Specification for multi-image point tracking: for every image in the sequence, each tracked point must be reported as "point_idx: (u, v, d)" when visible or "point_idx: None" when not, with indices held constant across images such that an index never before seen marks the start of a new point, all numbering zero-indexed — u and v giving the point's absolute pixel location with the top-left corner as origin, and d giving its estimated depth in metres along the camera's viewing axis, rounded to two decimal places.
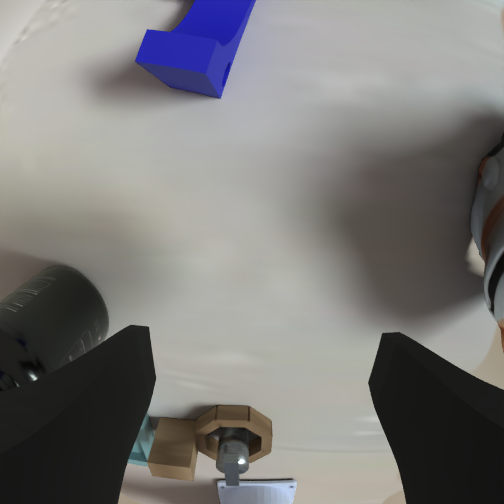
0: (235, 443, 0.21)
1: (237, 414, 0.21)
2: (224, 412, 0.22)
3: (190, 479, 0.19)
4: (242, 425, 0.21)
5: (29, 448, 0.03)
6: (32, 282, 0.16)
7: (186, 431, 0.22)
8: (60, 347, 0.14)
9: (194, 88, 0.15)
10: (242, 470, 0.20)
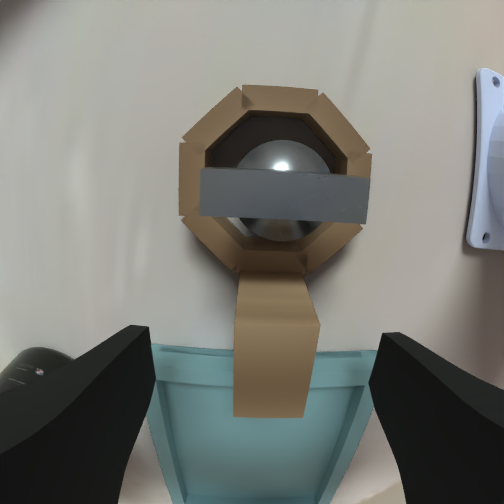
0: None
1: None
2: None
3: (311, 331, 0.07)
4: (199, 155, 0.09)
5: (29, 448, 0.03)
6: None
7: None
8: None
9: None
10: (304, 159, 0.07)
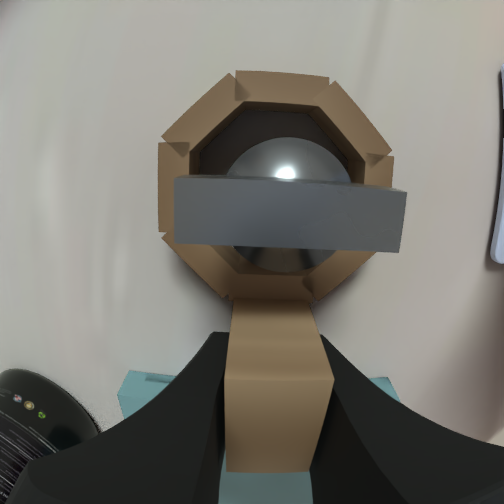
0: None
1: None
2: None
3: (322, 387, 0.05)
4: (182, 158, 0.08)
5: (197, 490, 0.03)
6: None
7: None
8: None
9: None
10: (317, 163, 0.05)
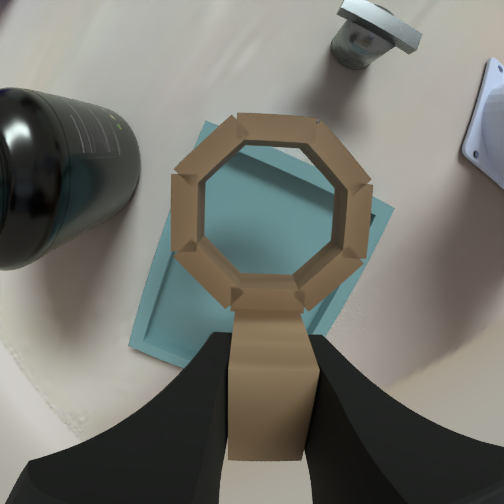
0: (346, 21, 0.12)
1: None
2: None
3: (310, 377, 0.07)
4: (192, 188, 0.09)
5: (198, 490, 0.03)
6: None
7: None
8: None
9: None
10: None
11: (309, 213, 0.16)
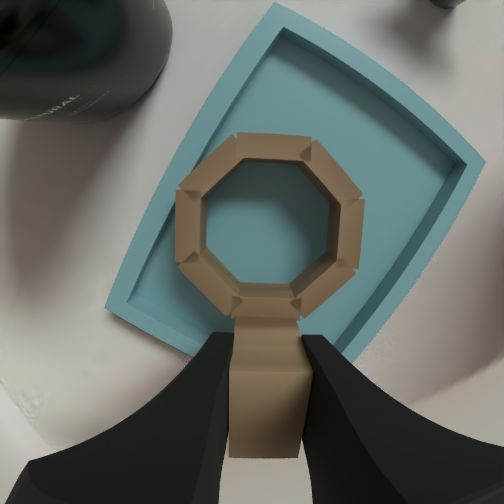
0: None
1: None
2: None
3: (304, 378, 0.07)
4: (195, 203, 0.10)
5: (197, 490, 0.03)
6: None
7: None
8: None
9: None
10: None
11: (388, 147, 0.11)
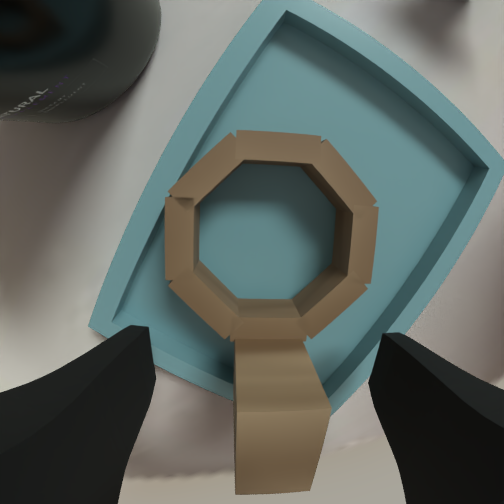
0: None
1: None
2: None
3: (321, 415, 0.06)
4: (187, 212, 0.08)
5: (29, 448, 0.03)
6: None
7: (234, 356, 0.10)
8: None
9: None
10: None
11: (404, 148, 0.10)
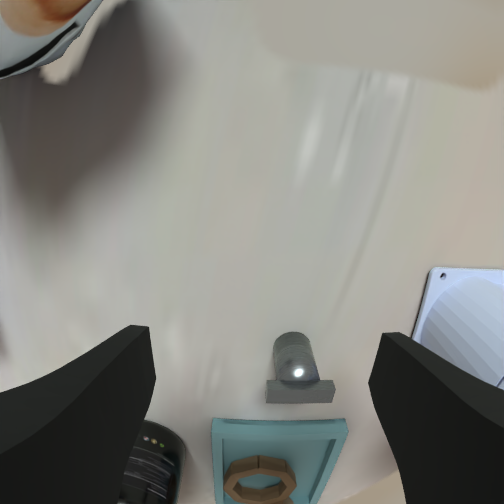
0: (276, 367, 0.18)
1: None
2: None
3: None
4: (231, 490, 0.22)
5: (29, 448, 0.03)
6: None
7: None
8: None
9: None
10: (309, 376, 0.16)
11: (294, 442, 0.22)
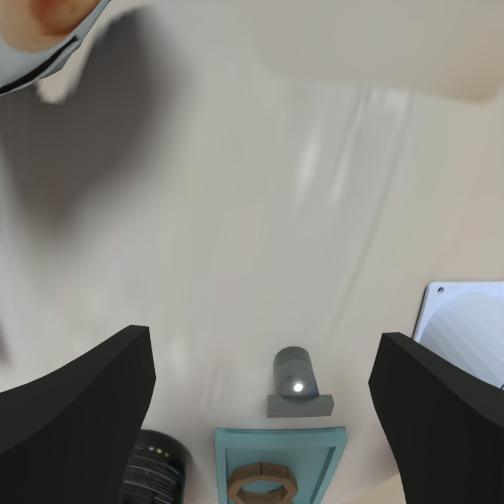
0: (277, 382, 0.18)
1: None
2: None
3: None
4: (234, 495, 0.22)
5: (29, 448, 0.03)
6: None
7: None
8: None
9: None
10: (308, 391, 0.16)
11: (296, 449, 0.23)
